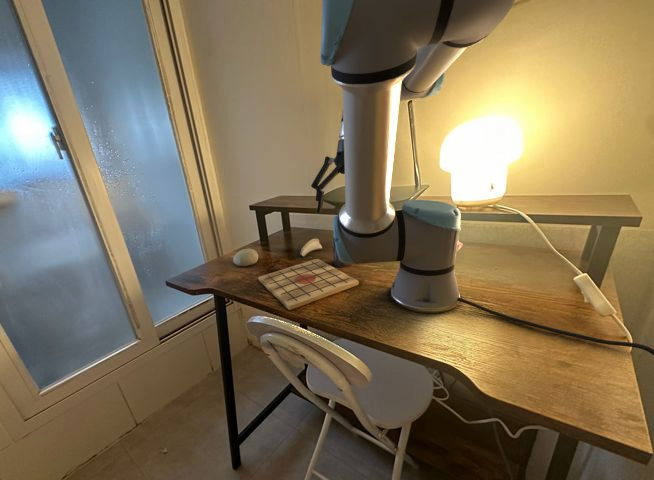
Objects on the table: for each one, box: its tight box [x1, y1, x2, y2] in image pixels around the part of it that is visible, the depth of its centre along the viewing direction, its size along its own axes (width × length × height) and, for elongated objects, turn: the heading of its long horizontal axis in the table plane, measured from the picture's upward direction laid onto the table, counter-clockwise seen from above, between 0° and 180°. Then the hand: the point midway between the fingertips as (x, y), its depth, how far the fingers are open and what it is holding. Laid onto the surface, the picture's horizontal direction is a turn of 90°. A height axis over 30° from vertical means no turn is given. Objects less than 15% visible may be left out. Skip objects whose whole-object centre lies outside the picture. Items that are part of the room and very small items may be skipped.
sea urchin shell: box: [232, 248, 259, 268], centre depth 110 cm, size 9×8×8 cm
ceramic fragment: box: [299, 238, 323, 258], centre depth 112 cm, size 14×5×4 cm, turn 143°
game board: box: [257, 258, 360, 311], centre depth 90 cm, size 22×22×1 cm
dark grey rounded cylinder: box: [332, 235, 350, 268], centre depth 97 cm, size 5×5×11 cm
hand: (340, 215), depth 92 cm, fingers open, 13 cm apart
